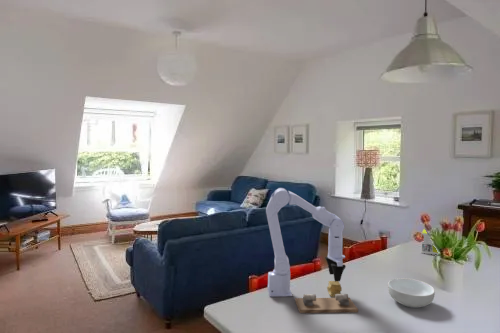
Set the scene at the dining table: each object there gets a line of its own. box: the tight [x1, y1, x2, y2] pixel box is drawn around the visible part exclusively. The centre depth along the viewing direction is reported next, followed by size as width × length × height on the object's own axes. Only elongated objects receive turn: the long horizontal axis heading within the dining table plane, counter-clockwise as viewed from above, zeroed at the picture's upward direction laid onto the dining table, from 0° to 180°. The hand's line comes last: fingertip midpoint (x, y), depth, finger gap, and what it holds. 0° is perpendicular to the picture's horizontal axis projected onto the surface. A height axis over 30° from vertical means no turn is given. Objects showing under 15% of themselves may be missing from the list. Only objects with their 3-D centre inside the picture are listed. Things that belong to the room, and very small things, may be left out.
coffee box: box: [420, 228, 438, 256], centre depth 208 cm, size 12×12×12 cm
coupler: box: [326, 280, 343, 298], centre depth 148 cm, size 6×4×5 cm
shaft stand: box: [294, 293, 359, 314], centre depth 137 cm, size 22×10×5 cm, turn 92°
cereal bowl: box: [387, 277, 436, 309], centre depth 140 cm, size 17×17×7 cm
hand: (334, 277), depth 148 cm, fingers open, 7 cm apart
